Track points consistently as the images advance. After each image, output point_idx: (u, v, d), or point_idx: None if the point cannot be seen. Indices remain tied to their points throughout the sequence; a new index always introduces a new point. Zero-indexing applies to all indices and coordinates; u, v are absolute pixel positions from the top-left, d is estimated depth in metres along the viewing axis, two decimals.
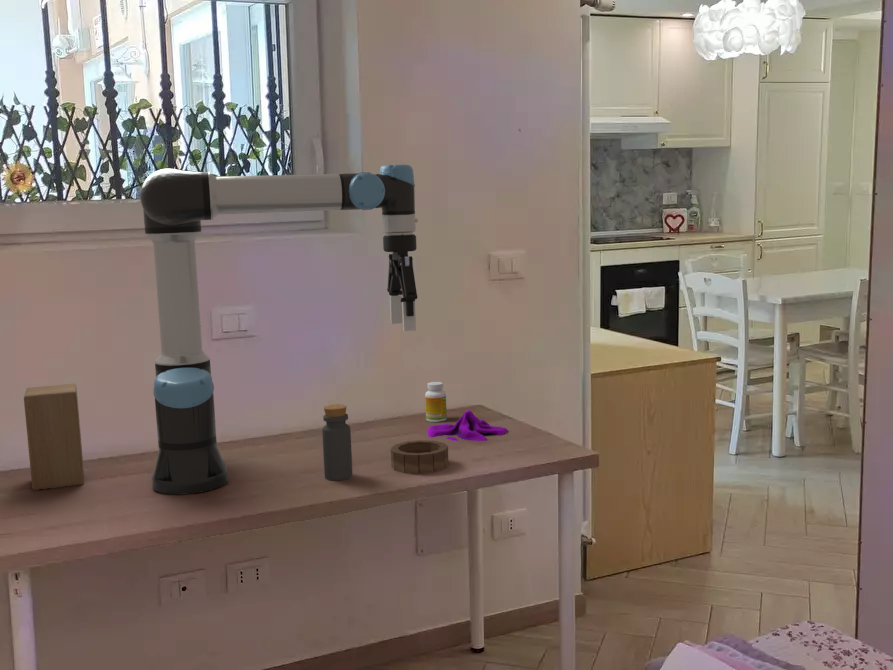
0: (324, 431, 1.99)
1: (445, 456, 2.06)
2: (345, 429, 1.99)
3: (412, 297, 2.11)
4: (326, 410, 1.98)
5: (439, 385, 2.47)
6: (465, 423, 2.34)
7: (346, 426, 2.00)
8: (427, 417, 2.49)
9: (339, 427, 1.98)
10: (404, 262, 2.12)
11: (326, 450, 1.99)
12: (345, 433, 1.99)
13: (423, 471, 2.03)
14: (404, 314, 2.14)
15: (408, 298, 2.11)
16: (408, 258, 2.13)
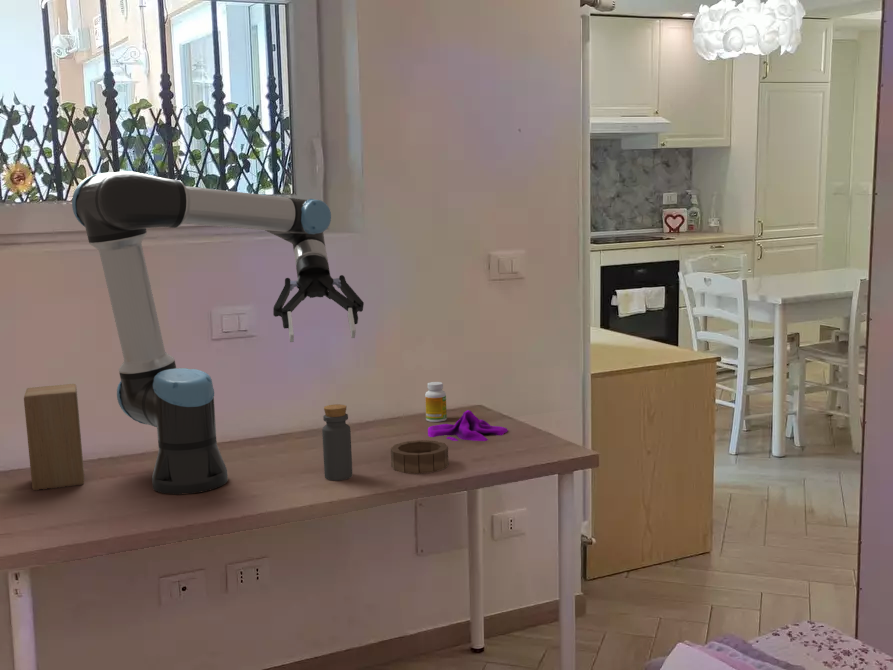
0: (324, 431, 1.99)
1: (445, 456, 2.06)
2: (345, 429, 1.99)
3: None
4: (326, 410, 1.98)
5: (439, 385, 2.47)
6: (465, 423, 2.34)
7: (346, 426, 2.00)
8: (427, 417, 2.49)
9: (339, 427, 1.98)
10: None
11: (326, 450, 1.99)
12: (345, 433, 1.99)
13: (423, 471, 2.03)
14: (353, 318, 2.16)
15: (362, 305, 2.19)
16: None
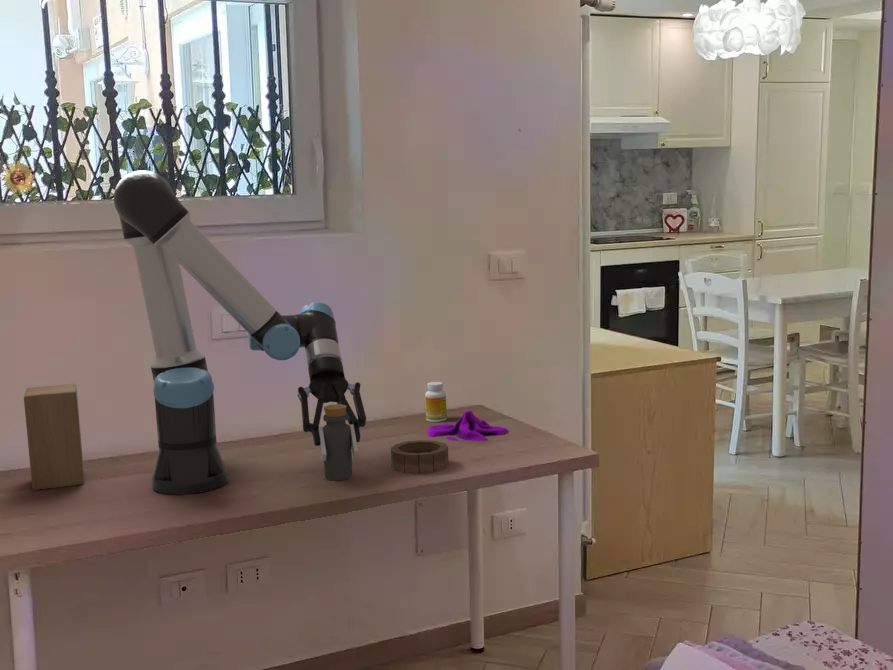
0: (324, 431, 1.99)
1: (445, 456, 2.06)
2: (345, 429, 1.99)
3: None
4: (326, 410, 1.98)
5: (439, 385, 2.47)
6: (465, 423, 2.33)
7: (346, 426, 2.00)
8: (427, 417, 2.49)
9: (339, 427, 1.98)
10: (359, 389, 2.08)
11: (326, 450, 1.99)
12: (345, 433, 1.99)
13: (423, 471, 2.03)
14: (355, 436, 2.00)
15: (365, 420, 2.03)
16: None
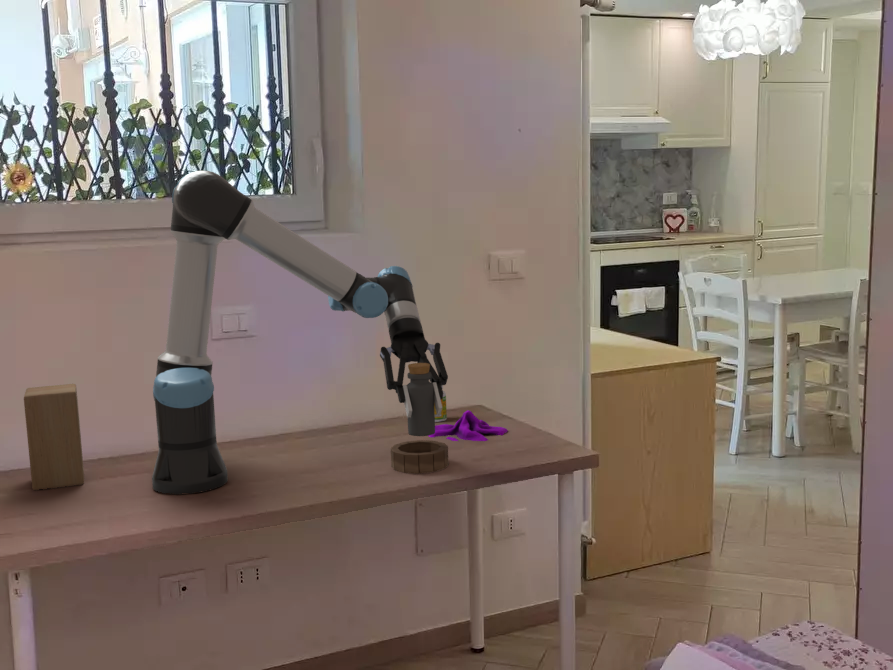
0: (409, 388, 2.05)
1: (445, 456, 2.06)
2: (429, 386, 2.04)
3: (446, 381, 2.10)
4: (411, 368, 2.04)
5: None
6: (465, 423, 2.33)
7: (430, 383, 2.05)
8: None
9: (423, 385, 2.04)
10: (439, 349, 2.14)
11: None
12: (429, 390, 2.04)
13: (423, 471, 2.03)
14: None
15: (446, 379, 2.09)
16: None
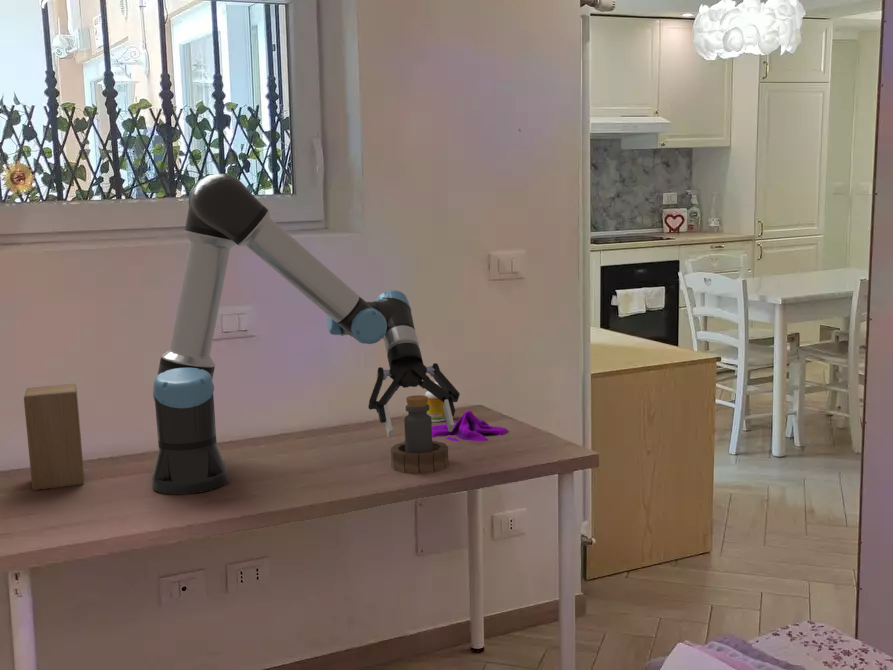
0: (407, 421, 2.05)
1: (445, 456, 2.06)
2: (427, 419, 2.05)
3: (458, 397, 2.12)
4: (409, 401, 2.05)
5: (439, 385, 2.47)
6: (465, 423, 2.33)
7: (428, 416, 2.06)
8: None
9: (421, 417, 2.05)
10: None
11: (409, 440, 2.06)
12: (427, 423, 2.05)
13: (423, 471, 2.03)
14: None
15: (458, 396, 2.11)
16: None
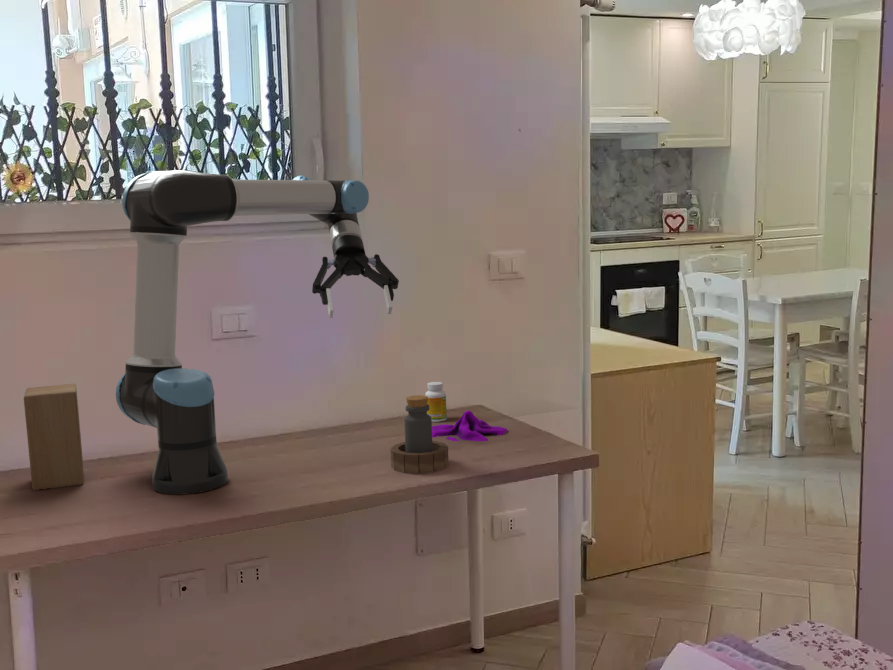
0: (407, 421, 2.05)
1: (445, 456, 2.06)
2: (427, 419, 2.05)
3: None
4: (409, 401, 2.05)
5: (439, 385, 2.47)
6: (465, 423, 2.33)
7: (428, 416, 2.06)
8: None
9: (421, 417, 2.05)
10: None
11: (409, 440, 2.06)
12: (427, 423, 2.05)
13: (423, 471, 2.03)
14: None
15: (397, 283, 2.27)
16: None
